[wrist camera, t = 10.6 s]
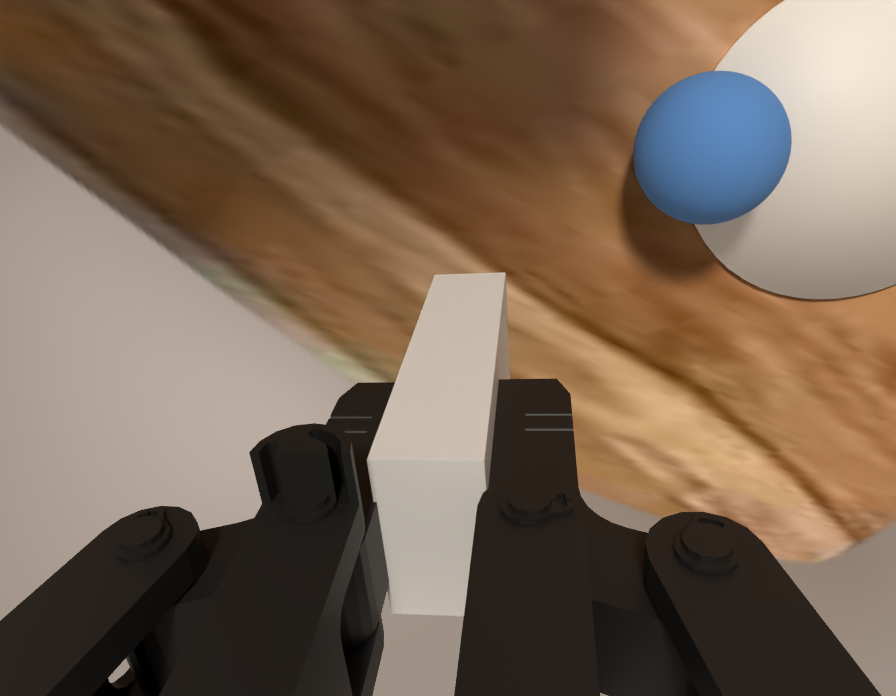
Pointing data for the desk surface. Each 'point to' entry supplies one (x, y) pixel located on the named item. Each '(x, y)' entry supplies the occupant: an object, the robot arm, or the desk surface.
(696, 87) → the ball
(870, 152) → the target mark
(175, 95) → the desk surface
